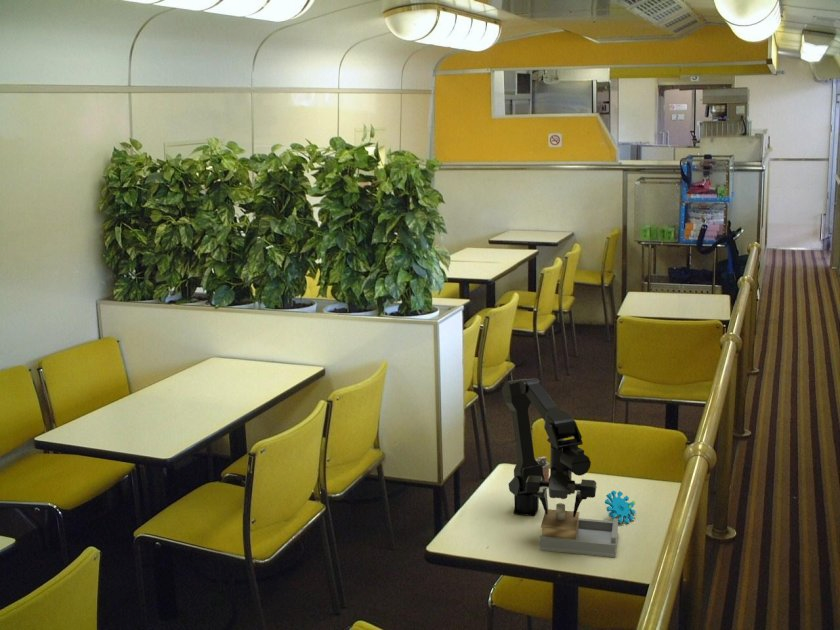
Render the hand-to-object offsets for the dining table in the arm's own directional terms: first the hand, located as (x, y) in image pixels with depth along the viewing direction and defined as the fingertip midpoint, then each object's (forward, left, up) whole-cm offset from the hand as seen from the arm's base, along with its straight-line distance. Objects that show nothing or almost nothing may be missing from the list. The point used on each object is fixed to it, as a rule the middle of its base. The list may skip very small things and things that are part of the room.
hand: (560, 515), depth 250 cm
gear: (+16, +17, -8) cm, 24 cm away
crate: (0, 0, -6) cm, 6 cm away
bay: (+5, 0, -7) cm, 9 cm away
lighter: (-10, +33, -8) cm, 35 cm away
